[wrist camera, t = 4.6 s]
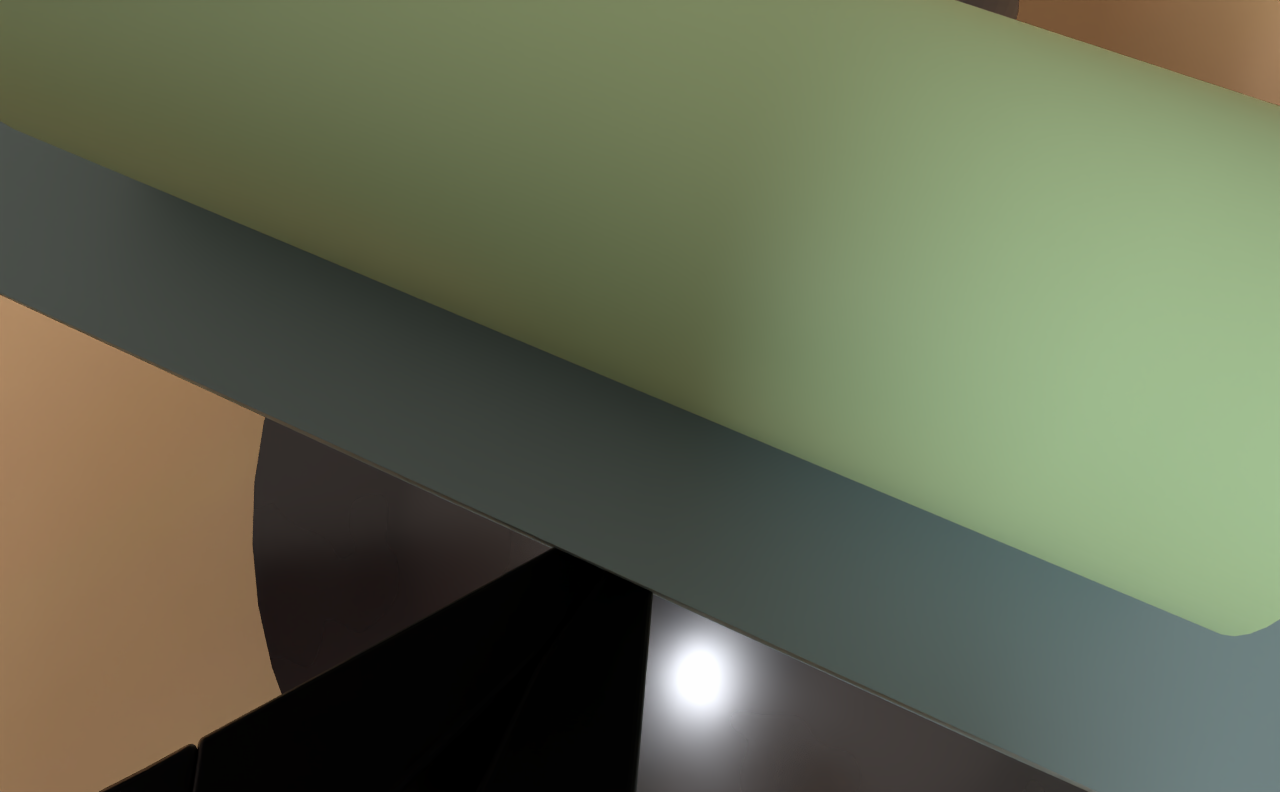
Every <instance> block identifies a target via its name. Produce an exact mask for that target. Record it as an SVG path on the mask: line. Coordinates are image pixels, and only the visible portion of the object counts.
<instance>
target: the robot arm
mask: <svg viewBox="0 0 1280 792" xmlns="http://www.w3.org/2000/svg"><path fill="white" fill-rule="evenodd" d="M652 602H653V592H651V591H649V590H647V589H645V588H643V587H640V586H638V585H636V584H634V583H632V582H629V581H627V580H625V579H623V578H621V577H619V576H616V575H614V574H612V573H610V572H607V571H605V570H603V569H601V568H599V567H597V566H594V565H592V564H590V563H588V562H586V561H583V560H581V559H579V558H577V557H575V556H572V555H570V554H568V553H566V552H564V551H561V550H559V549H557V548H555V547H553V548H551V549H550V550H548V551H546V552H544V553H542V554H540V555H538V556H537V557H535V558H533V559H531V560H529V561H527V562H526V563H524V564H522V565H520V566H518V567H516V568H514V569H513V570H511V571H509V572H507V573H505V574H503V575H502V576H500V577H498V578H496V579H494V580H492V581H490V582H489V583H487V584H485V585H483V586H481V587H479V588H478V589H476V590H474V591H472V592H470V593H468V594H466V595H465V596H463V597H461V598H459V599H457V600H455V601H454V602H452V603H450V604H448V605H446V606H444V607H442V608H441V609H439V610H437V611H435V612H433V613H431V614H430V615H428V616H426V617H424V618H422V619H420V620H418V621H417V622H415V623H413V624H411V625H409V626H407V627H406V628H404V629H402V630H400V631H398V632H396V633H394V634H393V635H391V636H389V637H387V638H385V639H383V640H382V641H380V642H378V643H376V644H374V645H372V646H370V647H369V648H367V649H365V650H363V651H361V652H359V653H358V654H356V655H354V656H352V657H350V658H348V659H346V660H345V661H343V662H341V663H339V664H337V665H335V666H333V667H332V668H330V669H328V670H326V671H324V672H322V673H321V674H319V675H317V676H315V677H313V678H311V679H309V680H308V681H306V682H304V683H302V684H300V685H298V686H297V687H295V688H293V689H291V690H289V691H287V692H285V693H284V694H282V695H280V696H278V697H276V698H274V699H273V700H271V701H269V702H267V703H265V704H263V705H261V706H260V707H258V708H256V709H254V710H252V711H250V712H248V713H247V714H245V715H243V716H241V717H239V718H237V719H236V720H234V721H232V722H230V723H228V724H226V725H224V726H223V727H221V728H219V729H217V730H215V731H213V732H212V733H210V734H208V735H206V736H204V737H202V738H201V739H200V740H199V743H198V748H197V747H196V746H195V745H193V744H188V745H186V746H184V747H183V748H181V749H179V750H177V751H175V752H174V753H172V754H170V755H168V756H166V757H164V758H163V759H161V760H159V761H157V762H155V763H153V764H152V765H150V766H148V767H146V768H144V769H142V770H140V771H138V772H136V773H134V774H132V775H131V776H129V777H127V778H125V779H123V780H121V781H119V782H117V783H115V784H113V785H111V786H109V787H107V788H105V789H103V790H101V791H99V792H637V780H638V768H639V756H640V744H641V733H642V721H643V709H644V697H645V685H646V673H647V661H648V650H649V638H650V626H651V614H652Z"/></svg>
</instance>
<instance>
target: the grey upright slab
mask: <svg viewBox="0 0 1280 792" xmlns="http://www.w3.org/2000/svg"><path fill="white" fill-rule="evenodd" d="M1018 8H1019V0H0V295H2V296H4V297H6V298H8V299H11V300H13V301H15V302H17V303H19V304H21V305H24V306H26V307H28V308H30V309H32V310H34V311H37V312H39V313H41V314H43V315H45V316H47V317H50V318H52V319H54V320H56V321H58V322H60V323H63V324H65V325H67V326H69V327H71V328H73V329H76V330H78V331H80V332H82V333H84V334H86V335H89V336H91V337H93V338H95V339H97V340H99V341H102V342H104V343H106V344H108V345H110V346H112V347H115V348H117V349H119V350H121V351H123V352H125V353H128V354H130V355H132V356H134V357H136V358H138V359H141V360H143V361H145V362H147V363H149V364H151V365H154V366H156V367H158V368H160V369H162V370H164V371H167V372H169V373H171V374H173V375H175V376H177V377H179V378H182V379H184V380H186V381H188V382H190V383H192V384H195V385H197V386H199V387H201V388H203V389H205V390H208V391H210V392H212V393H214V394H216V395H218V396H221V397H223V398H225V399H227V400H229V401H231V402H234V403H236V404H238V405H240V406H242V407H244V408H247V409H249V410H251V411H253V412H255V413H257V414H260V415H262V416H264V417H266V418H268V419H270V420H273V421H275V422H277V423H279V424H281V425H283V426H286V427H288V428H290V429H292V430H294V431H296V432H299V433H301V434H303V435H305V436H307V437H309V438H312V439H314V440H316V441H318V442H320V443H322V444H325V445H327V446H329V447H331V448H333V449H335V450H338V451H340V452H342V453H344V454H346V455H348V456H351V457H353V458H355V459H357V460H359V461H361V462H364V463H366V464H368V465H370V466H372V467H375V468H377V469H379V470H381V471H383V472H386V473H388V474H390V475H392V476H394V477H397V478H399V479H401V480H403V481H405V482H407V483H410V484H412V485H414V486H416V487H418V488H421V489H423V490H425V491H427V492H429V493H432V494H434V495H436V496H438V497H440V498H443V499H445V500H447V501H449V502H451V503H454V504H456V505H458V506H460V507H462V508H465V509H467V510H469V511H471V512H473V513H476V514H478V515H480V516H482V517H484V518H487V519H489V520H491V521H493V522H495V523H498V524H500V525H502V526H504V527H506V528H509V529H511V530H513V531H515V532H517V533H520V534H522V535H524V536H526V537H528V538H531V539H533V540H535V541H537V542H539V543H542V544H544V545H546V546H548V547H550V548H553V547H555V548H557V549H559V550H561V551H564V552H566V553H568V554H570V555H572V556H575V557H577V558H579V559H581V560H583V561H586V562H588V563H590V564H592V565H594V566H597V567H599V568H601V569H603V570H605V571H607V572H610V573H612V574H614V575H616V576H619V577H621V578H623V579H625V580H627V581H629V582H632V583H634V584H636V585H638V586H640V587H643V588H645V589H647V590H649V591H651V592H653V594H654V595H656V596H658V597H660V598H662V599H665V600H667V601H669V602H671V603H673V604H676V605H678V606H680V607H682V608H684V609H686V610H689V611H691V612H693V613H695V614H697V615H700V616H702V617H704V618H706V619H708V620H711V621H713V622H715V623H717V624H719V625H722V626H724V627H726V628H728V629H730V630H733V631H735V632H737V633H739V634H741V635H744V636H746V637H748V638H750V639H752V640H755V641H757V642H759V643H761V644H763V645H766V646H768V647H770V648H772V649H774V650H777V651H779V652H781V653H783V654H785V655H788V656H790V657H792V658H794V659H796V660H799V661H801V662H803V663H805V664H807V665H810V666H812V667H814V668H816V669H818V670H820V671H823V672H825V673H827V674H829V675H831V676H834V677H836V678H838V679H840V680H842V681H845V682H847V683H849V684H851V685H853V686H856V687H858V688H860V689H862V690H864V691H867V692H869V693H871V694H873V695H875V696H878V697H880V698H882V699H884V700H886V701H889V702H891V703H893V704H895V705H897V706H900V707H902V708H904V709H906V710H908V711H911V712H913V713H915V714H917V715H919V716H922V717H924V718H926V719H928V720H930V721H933V722H935V723H937V724H939V725H941V726H944V727H946V728H948V729H950V730H952V731H955V732H957V733H959V734H961V735H963V736H965V737H968V738H970V739H972V740H974V741H976V742H979V743H981V744H983V745H985V746H987V747H990V748H992V749H994V750H996V751H998V752H1001V753H1003V754H1005V755H1007V756H1009V757H1012V758H1014V759H1016V760H1018V761H1020V762H1023V763H1025V764H1027V765H1029V766H1032V767H1034V768H1036V769H1038V770H1041V771H1043V772H1045V773H1047V774H1050V775H1052V776H1054V777H1056V778H1059V779H1061V780H1063V781H1065V782H1068V783H1070V784H1072V785H1074V786H1077V787H1079V788H1081V789H1083V790H1086V791H1088V792H1280V106H1278V105H1275V104H1272V103H1269V102H1266V101H1263V100H1260V99H1257V98H1253V97H1250V96H1247V95H1244V94H1241V93H1238V92H1235V91H1232V90H1229V89H1226V88H1223V87H1220V86H1217V85H1214V84H1211V83H1208V82H1204V81H1201V80H1198V79H1195V78H1192V77H1189V76H1186V75H1183V74H1180V73H1177V72H1174V71H1171V70H1168V69H1165V68H1162V67H1159V66H1155V65H1152V64H1149V63H1146V62H1143V61H1140V60H1137V59H1134V58H1131V57H1128V56H1125V55H1122V54H1119V53H1116V52H1113V51H1110V50H1107V49H1103V48H1100V47H1097V46H1094V45H1091V44H1088V43H1085V42H1082V41H1079V40H1076V39H1073V38H1070V37H1067V36H1064V35H1061V34H1058V33H1054V32H1051V31H1048V30H1045V29H1042V28H1039V27H1036V26H1033V25H1030V24H1027V23H1024V22H1021V21H1018V20H1016V18H1017V15H1018Z"/></svg>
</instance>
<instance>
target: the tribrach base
mask: <svg viewBox="0 0 1280 792" xmlns="http://www.w3.org/2000/svg"><path fill="white" fill-rule="evenodd" d="M550 549H551V548H550V547H548V546H546V545H544V544H542V543H539V542H537V541H535V540H533V539H531V538H528V537H526V536H524V535H522V534H520V533H517V532H515V531H513V530H511V529H509V528H506V527H504V526H502V525H500V524H498V523H495V522H493V521H491V520H489V519H487V518H484V517H482V516H480V515H478V514H476V513H473V512H471V511H469V510H467V509H465V508H462V507H460V506H458V505H456V504H454V503H451V502H449V501H447V500H445V499H443V498H440V497H438V496H436V495H434V494H432V493H429V492H427V491H425V490H423V489H421V488H418V487H416V486H414V485H412V484H410V483H407V482H405V481H403V480H401V479H399V478H397V477H394V476H392V475H390V474H388V473H386V472H383V471H381V470H379V469H377V468H375V467H372V466H370V465H368V464H366V463H364V462H361V461H359V460H357V459H355V458H353V457H351V456H348V455H346V454H344V453H342V452H340V451H338V450H335V449H333V448H331V447H329V446H327V445H325V444H322V443H320V442H318V441H316V440H314V439H312V438H309V437H307V436H305V435H303V434H301V433H299V432H296V431H294V430H292V429H290V428H288V427H286V426H283V425H281V424H279V423H277V422H275V421H273V420H270V419H268V418H266V417H265V420H264V426H263V432H262V438H261V444H260V451H259V457H258V463H257V470H256V476H255V485H254V515H253V553H254V564H255V575H256V586H257V597H258V606H259V611H260V615H261V620H262V624H263V629H264V633H265V638H266V642H267V647H268V651H269V656H270V660H271V665H272V668H273V671H274V674H275V677H276V679H277V682H278V685H279V688H280V690H281V693H282V694H284V693H285V692H287V691H289V690H291V689H293V688H295V687H297V686H298V685H300V684H302V683H304V682H306V681H308V680H309V679H311V678H313V677H315V676H317V675H319V674H321V673H322V672H324V671H326V670H328V669H330V668H332V667H333V666H335V665H337V664H339V663H341V662H343V661H345V660H346V659H348V658H350V657H352V656H354V655H356V654H358V653H359V652H361V651H363V650H365V649H367V648H369V647H370V646H372V645H374V644H376V643H378V642H380V641H382V640H383V639H385V638H387V637H389V636H391V635H393V634H394V633H396V632H398V631H400V630H402V629H404V628H406V627H407V626H409V625H411V624H413V623H415V622H417V621H418V620H420V619H422V618H424V617H426V616H428V615H430V614H431V613H433V612H435V611H437V610H439V609H441V608H442V607H444V606H446V605H448V604H450V603H452V602H454V601H455V600H457V599H459V598H461V597H463V596H465V595H466V594H468V593H470V592H472V591H474V590H476V589H478V588H479V587H481V586H483V585H485V584H487V583H489V582H490V581H492V580H494V579H496V578H498V577H500V576H502V575H503V574H505V573H507V572H509V571H511V570H513V569H514V568H516V567H518V566H520V565H522V564H524V563H526V562H527V561H529V560H531V559H533V558H535V557H537V556H538V555H540V554H542V553H544V552H546V551H548V550H550ZM637 792H1088V791H1086V790H1083V789H1081V788H1079V787H1077V786H1074V785H1072V784H1070V783H1068V782H1065V781H1063V780H1061V779H1059V778H1056V777H1054V776H1052V775H1050V774H1047V773H1045V772H1043V771H1041V770H1038V769H1036V768H1034V767H1032V766H1029V765H1027V764H1025V763H1023V762H1020V761H1018V760H1016V759H1014V758H1012V757H1009V756H1007V755H1005V754H1003V753H1001V752H998V751H996V750H994V749H992V748H990V747H987V746H985V745H983V744H981V743H979V742H976V741H974V740H972V739H970V738H968V737H965V736H963V735H961V734H959V733H957V732H955V731H952V730H950V729H948V728H946V727H944V726H941V725H939V724H937V723H935V722H933V721H930V720H928V719H926V718H924V717H922V716H919V715H917V714H915V713H913V712H911V711H908V710H906V709H904V708H902V707H900V706H897V705H895V704H893V703H891V702H889V701H886V700H884V699H882V698H880V697H878V696H875V695H873V694H871V693H869V692H867V691H864V690H862V689H860V688H858V687H856V686H853V685H851V684H849V683H847V682H845V681H842V680H840V679H838V678H836V677H834V676H831V675H829V674H827V673H825V672H823V671H820V670H818V669H816V668H814V667H812V666H810V665H807V664H805V663H803V662H801V661H799V660H796V659H794V658H792V657H790V656H788V655H785V654H783V653H781V652H779V651H777V650H774V649H772V648H770V647H768V646H766V645H763V644H761V643H759V642H757V641H755V640H752V639H750V638H748V637H746V636H744V635H741V634H739V633H737V632H735V631H733V630H730V629H728V628H726V627H724V626H722V625H719V624H717V623H715V622H713V621H711V620H708V619H706V618H704V617H702V616H700V615H697V614H695V613H693V612H691V611H689V610H686V609H684V608H682V607H680V606H678V605H676V604H673V603H671V602H669V601H667V600H665V599H662V598H660V597H658V596H656V595H654V594H653V602H652V614H651V626H650V638H649V650H648V661H647V673H646V685H645V697H644V709H643V721H642V733H641V744H640V756H639V768H638V780H637Z"/></svg>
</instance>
